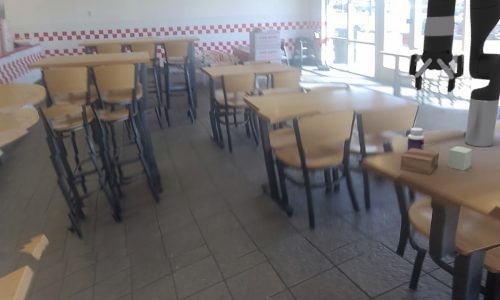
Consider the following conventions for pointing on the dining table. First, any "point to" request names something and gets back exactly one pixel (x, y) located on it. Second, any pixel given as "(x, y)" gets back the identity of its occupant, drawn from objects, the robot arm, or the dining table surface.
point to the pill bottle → (415, 139)
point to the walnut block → (419, 160)
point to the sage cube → (460, 158)
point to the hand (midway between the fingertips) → (433, 90)
